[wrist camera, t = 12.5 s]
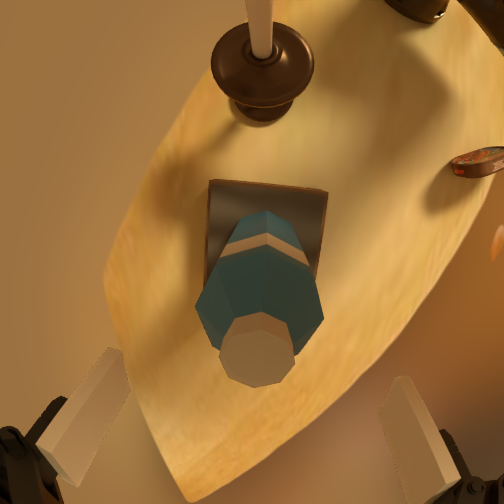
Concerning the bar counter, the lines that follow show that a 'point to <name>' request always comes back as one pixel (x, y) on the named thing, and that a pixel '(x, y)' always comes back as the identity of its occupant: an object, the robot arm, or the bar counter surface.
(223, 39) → the candlestick
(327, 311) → the bar counter surface
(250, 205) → the stand
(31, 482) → the robot arm
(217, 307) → the water bottle
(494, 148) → the tin
